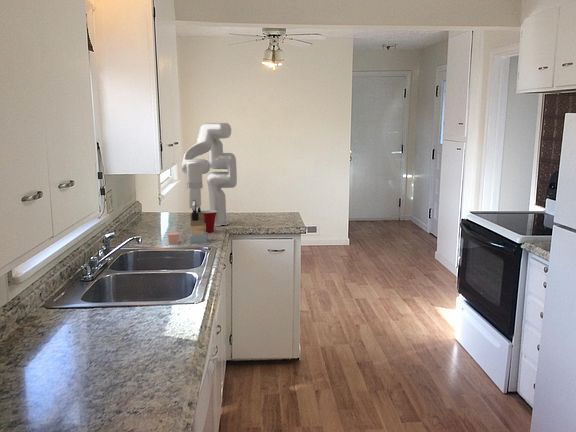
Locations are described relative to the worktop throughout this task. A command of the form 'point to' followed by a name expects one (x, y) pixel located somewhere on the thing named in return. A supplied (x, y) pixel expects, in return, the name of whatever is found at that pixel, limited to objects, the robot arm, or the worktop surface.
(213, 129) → the robot arm
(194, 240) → the base block
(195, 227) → the oak block
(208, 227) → the plastic cup
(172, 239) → the terracotta block
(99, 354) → the worktop surface
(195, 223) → the walnut cube
